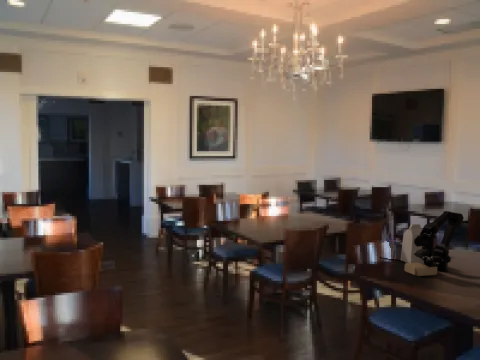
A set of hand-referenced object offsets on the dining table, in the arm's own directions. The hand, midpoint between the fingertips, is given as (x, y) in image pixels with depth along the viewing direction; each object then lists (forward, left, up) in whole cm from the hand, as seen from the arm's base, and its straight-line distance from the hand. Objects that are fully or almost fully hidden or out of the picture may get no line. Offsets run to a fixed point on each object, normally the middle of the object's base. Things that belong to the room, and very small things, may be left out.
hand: (427, 269), depth 288 cm
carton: (+7, 0, -2) cm, 7 cm away
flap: (+5, +5, -2) cm, 7 cm away
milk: (-9, -24, -2) cm, 26 cm away
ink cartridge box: (+3, -36, -2) cm, 37 cm away
